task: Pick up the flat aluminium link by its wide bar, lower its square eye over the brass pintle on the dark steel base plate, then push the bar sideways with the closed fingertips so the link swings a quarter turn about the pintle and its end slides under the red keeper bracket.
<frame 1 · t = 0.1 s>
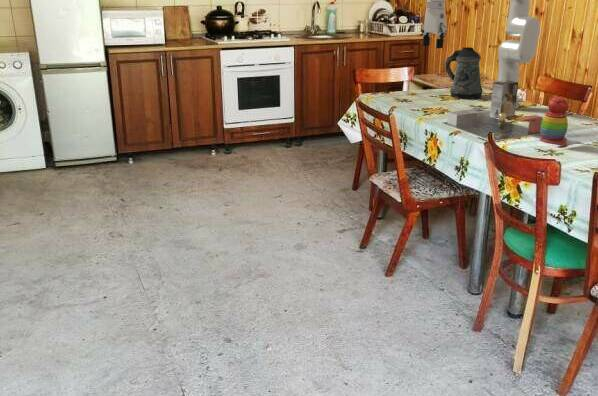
hand: (432, 46, 253), 31 cm above the table, tool pointing down, fingers open, 9 cm apart
link: (462, 123, 248), point 1 cm above the table, touching base plate
pintle: (501, 126, 243), resting on base plate
stacking bear: (552, 143, 222), on the table
coffee box: (501, 118, 262), on the table
beer stein: (462, 96, 307), on the table
base plate: (490, 129, 242), on the table
keeper: (534, 131, 235), resting on base plate
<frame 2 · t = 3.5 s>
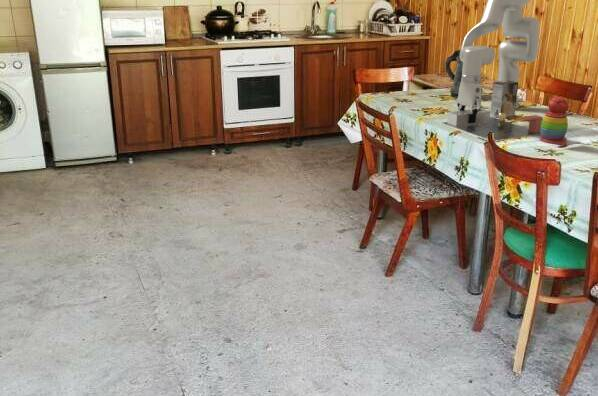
hand: (466, 120, 248), 2 cm above the table, tool pointing down, fingers closed on link, 6 cm apart
link: (462, 123, 248), point 1 cm above the table, touching base plate, gripper
everything else where it was.
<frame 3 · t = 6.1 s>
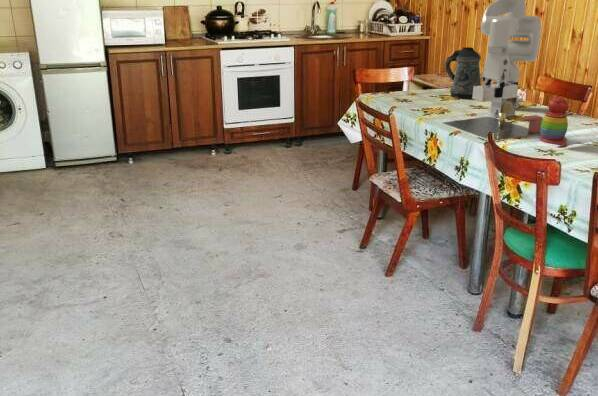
hand: (493, 95, 236), 15 cm above the table, tool pointing down, fingers closed on link, 6 cm apart
link: (487, 98, 236), point 13 cm above the table, touching gripper
everything else where it was.
when the fingers open (3 cm above the table, at t = 8.5 s): link stays where it is, resting on base plate.
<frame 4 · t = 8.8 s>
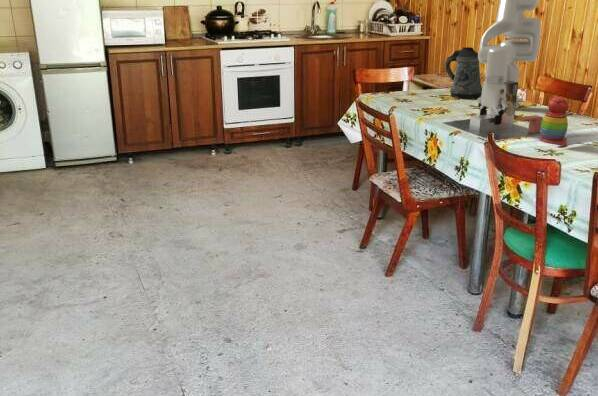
hand: (490, 121, 240), 4 cm above the table, tool pointing down, fingers open, 8 cm apart
link: (484, 128, 240), point 1 cm above the table, touching base plate
everything else where it was.
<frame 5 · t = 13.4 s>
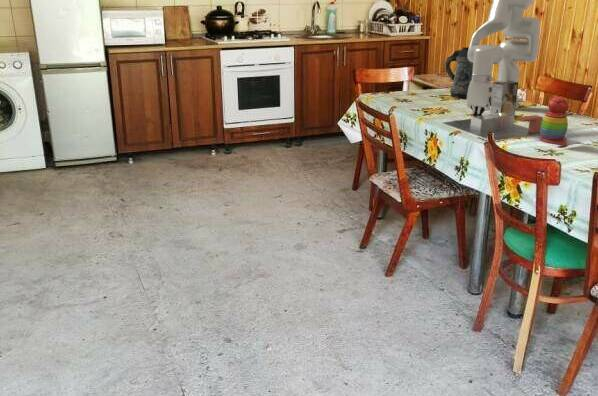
hand: (476, 122, 244), 2 cm above the table, tool pointing down, fingers closed
link: (485, 128, 240), point 1 cm above the table, touching base plate, gripper
everything else where it was.
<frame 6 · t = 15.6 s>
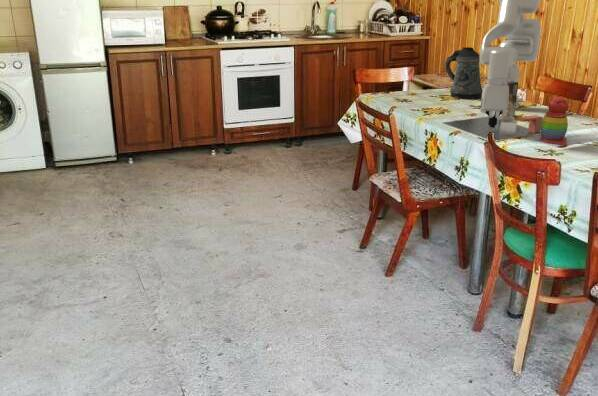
hand: (492, 126, 236), 3 cm above the table, tool pointing down, fingers closed
link: (505, 131, 235), point 1 cm above the table, touching base plate, gripper, pintle
everything else where it was.
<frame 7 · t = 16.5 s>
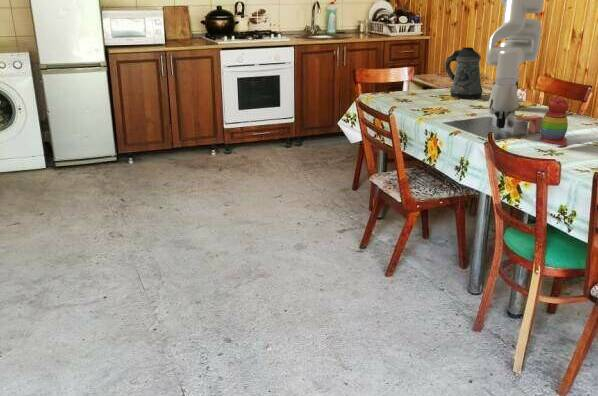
hand: (500, 127, 235), 3 cm above the table, tool pointing down, fingers closed
link: (512, 131, 236), point 1 cm above the table, touching base plate, gripper, pintle
everything else where it was.
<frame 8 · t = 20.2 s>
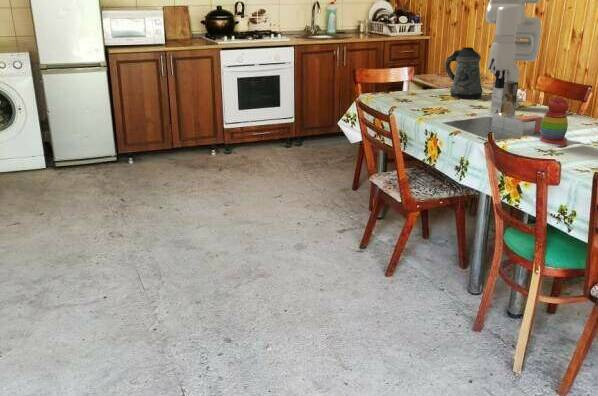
hand: (499, 87, 227), 19 cm above the table, tool pointing down, fingers closed
link: (518, 130, 236), point 1 cm above the table, touching base plate, pintle
everything else where it was.
at the end: link 1.2 cm from the target spot on the table beside the pintle, resting on base plate; link tilted 0°; the gripper is holding nothing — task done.
